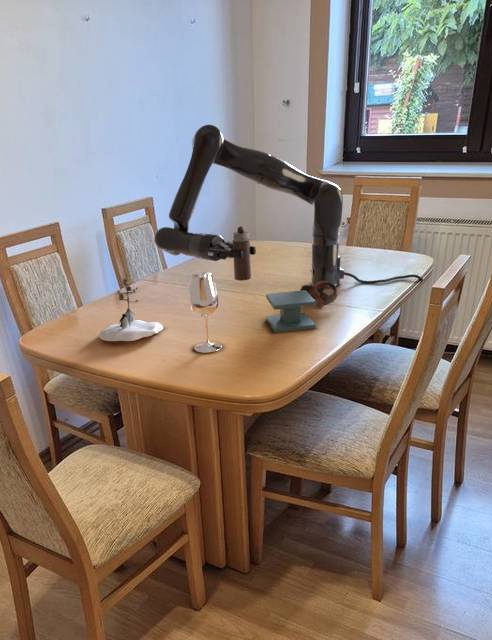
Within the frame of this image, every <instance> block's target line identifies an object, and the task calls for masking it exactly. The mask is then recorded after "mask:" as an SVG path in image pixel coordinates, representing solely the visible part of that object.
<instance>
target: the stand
mask: <svg viewBox="0 0 492 640" xmlns="http://www.w3.org/2000/svg"><path fill="white" fill-rule="evenodd" d="M265 298H266V300H267V301H268V303H269V304H270V306H271V307H272V308H273V310H274V311H277V310H279V314H275V315H266V321H267V324H268V325H269V326H270V328H271V329H272V331H273V332H274V333H275V334H277V333H279V334H280V333H287V332H288V333H289V332H297V331H306V330H316V323H315V322H314V321H313V320H312V319H311V317H310V316H309V315H308V314H307V312H306V311H304V312H301V311H302V308H304V307H314V306H315V307H316V304H317V300H316V299H315V300H314V299H313V298H312V297H311V296H310V295H309V294H308V292H307V291H306V290H301V291H300V290H293V291H292V290H291V291H283V292H272V293H265Z"/></svg>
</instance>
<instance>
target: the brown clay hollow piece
mask: <svg viewBox="0 0 492 640" xmlns="http://www.w3.org/2000/svg"><path fill="white" fill-rule="evenodd" d="M328 286H330V288H331V290H333V293H331V294H328V293H326V292H324V290H325V289H327V288H326V287H328ZM301 290H306V291H307V292H308V294H309V295H310V296H311V297H312V298H313V299H314V300H315V301H316V305H315V307H316V308H318V309H322V308H323V307H325V306H328V305H330V304H332V303H334V302H335V301H336V300H337V298H338V289H337V286H335V285H334V284H333V283H331V282H328V281H319V282H317V283H316V284H315V285H314V286H312V285H309V284H304V285H302V286H301V287H300V289H299V291H301Z"/></svg>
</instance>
